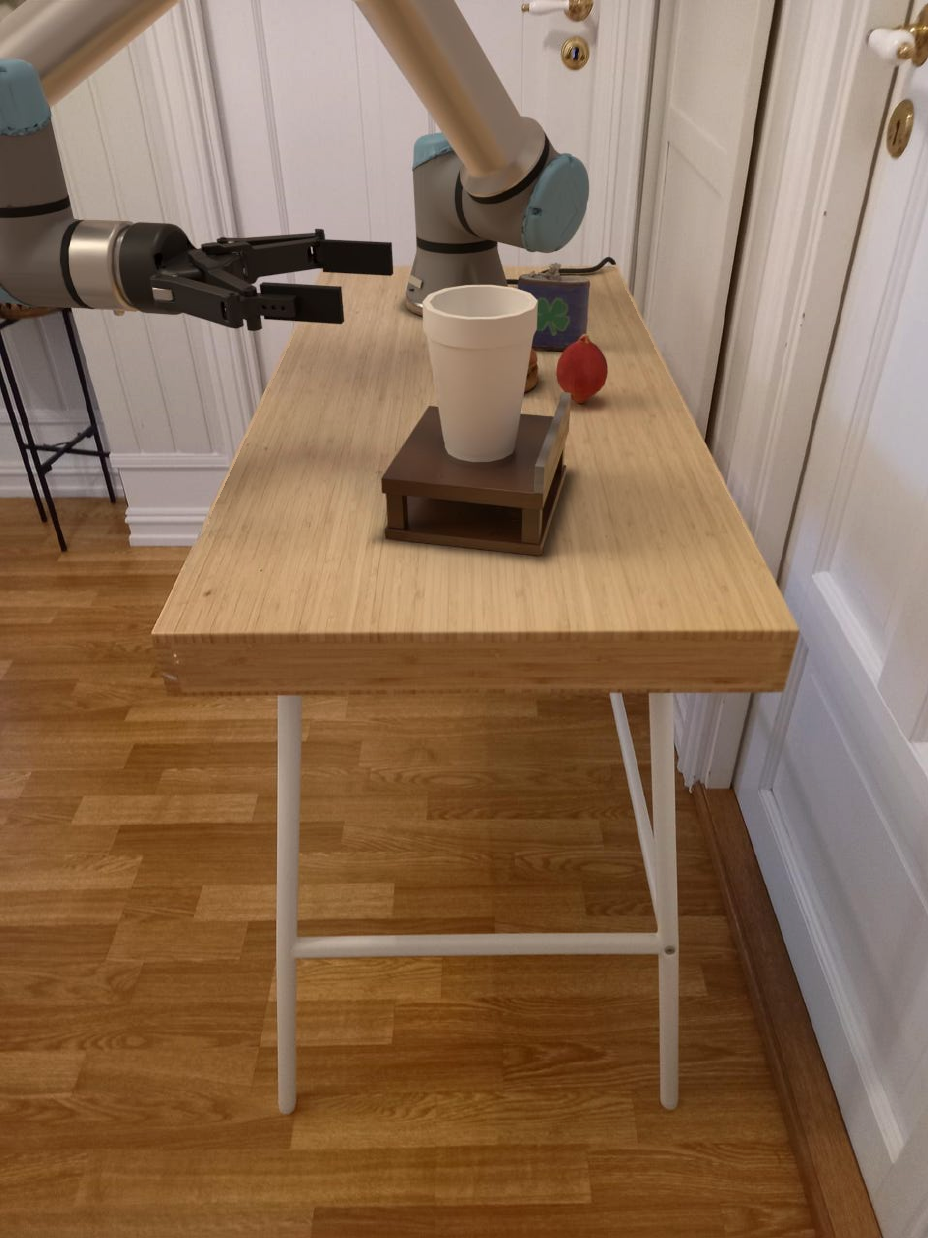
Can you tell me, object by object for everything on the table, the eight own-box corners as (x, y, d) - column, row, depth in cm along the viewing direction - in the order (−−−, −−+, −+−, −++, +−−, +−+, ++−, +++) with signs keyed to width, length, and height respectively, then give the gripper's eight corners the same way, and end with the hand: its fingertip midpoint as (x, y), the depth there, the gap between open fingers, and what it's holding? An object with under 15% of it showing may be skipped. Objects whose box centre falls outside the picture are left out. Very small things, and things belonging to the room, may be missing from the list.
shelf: (430, 460, 96) (427, 381, 91) (566, 473, 93) (571, 392, 88) (384, 538, 83) (378, 450, 78) (540, 556, 80) (544, 466, 75)
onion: (548, 394, 110) (551, 327, 105) (595, 390, 111) (600, 323, 106) (563, 414, 105) (567, 344, 100) (611, 409, 106) (617, 340, 101)
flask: (586, 346, 123) (592, 261, 117) (584, 353, 121) (589, 268, 115) (517, 341, 125) (519, 258, 119) (513, 349, 122) (515, 264, 116)
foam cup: (521, 474, 80) (526, 322, 72) (417, 465, 81) (410, 315, 74) (538, 429, 87) (544, 287, 80) (442, 421, 89) (439, 281, 81)
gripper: (208, 272, 94) (410, 283, 90) (70, 359, 75) (321, 378, 71) (194, 192, 90) (406, 200, 86) (44, 261, 70) (310, 276, 66)
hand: (368, 280), depth 78 cm, fingers open, 13 cm apart
